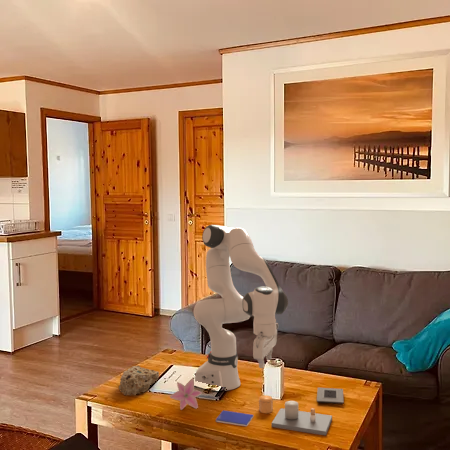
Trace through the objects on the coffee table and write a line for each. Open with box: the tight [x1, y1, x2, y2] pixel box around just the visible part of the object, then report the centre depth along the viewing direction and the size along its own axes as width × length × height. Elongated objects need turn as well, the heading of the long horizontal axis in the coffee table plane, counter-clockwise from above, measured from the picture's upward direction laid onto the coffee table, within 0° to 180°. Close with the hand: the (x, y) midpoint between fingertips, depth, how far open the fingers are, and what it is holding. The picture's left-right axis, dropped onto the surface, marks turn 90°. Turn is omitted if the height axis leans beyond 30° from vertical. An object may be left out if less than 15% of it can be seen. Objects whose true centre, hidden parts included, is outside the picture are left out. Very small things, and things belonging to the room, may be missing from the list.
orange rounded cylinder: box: [258, 394, 274, 414], centre depth 207 cm, size 5×5×5 cm
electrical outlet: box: [316, 387, 344, 404], centre depth 217 cm, size 13×10×2 cm
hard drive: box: [215, 410, 254, 427], centre depth 201 cm, size 2×8×12 cm
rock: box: [118, 365, 160, 396], centre depth 233 cm, size 21×14×10 cm
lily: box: [169, 377, 203, 411], centre depth 214 cm, size 12×12×10 cm
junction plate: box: [271, 400, 333, 436], centre depth 196 cm, size 20×13×7 cm, turn 69°
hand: (265, 363), depth 206 cm, fingers open, 8 cm apart
